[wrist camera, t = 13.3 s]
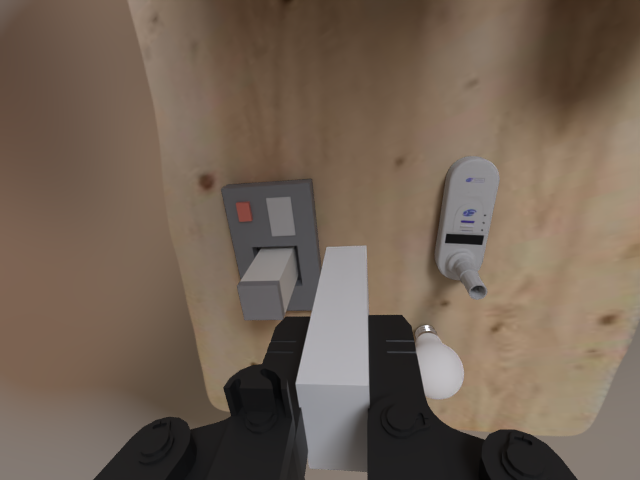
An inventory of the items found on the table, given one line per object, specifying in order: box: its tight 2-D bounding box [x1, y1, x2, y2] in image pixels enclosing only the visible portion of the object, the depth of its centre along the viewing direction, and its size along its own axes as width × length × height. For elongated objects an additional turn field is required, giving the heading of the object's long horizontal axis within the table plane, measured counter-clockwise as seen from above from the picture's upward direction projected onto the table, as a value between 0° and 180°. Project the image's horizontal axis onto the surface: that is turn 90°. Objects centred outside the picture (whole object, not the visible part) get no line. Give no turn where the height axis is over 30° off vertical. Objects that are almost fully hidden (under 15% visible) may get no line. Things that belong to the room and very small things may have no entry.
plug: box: [237, 246, 298, 320], centre depth 42 cm, size 4×4×10 cm
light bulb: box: [415, 325, 464, 399], centre depth 44 cm, size 7×7×11 cm
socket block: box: [221, 179, 322, 311], centre depth 45 cm, size 18×11×2 cm, turn 5°
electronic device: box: [435, 156, 499, 300], centre depth 37 cm, size 5×10×15 cm
